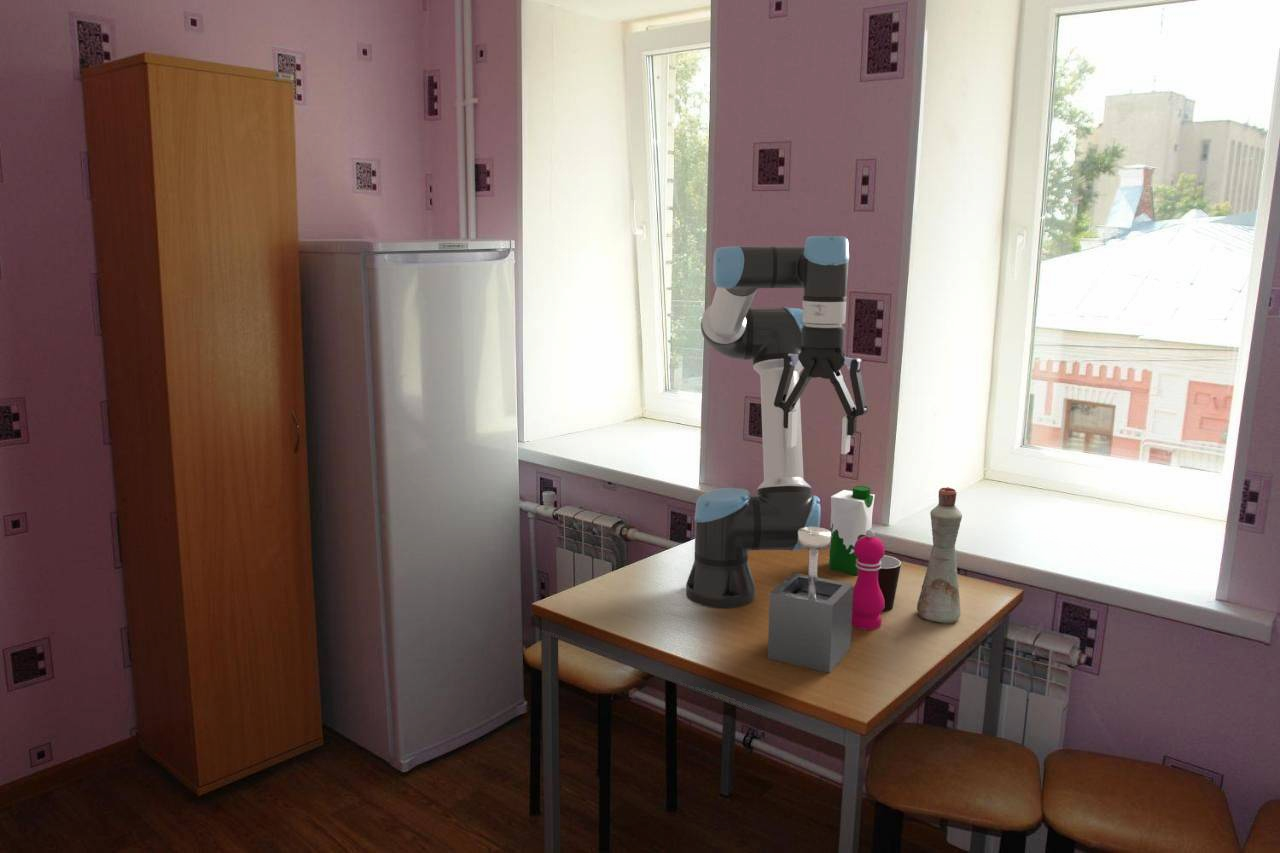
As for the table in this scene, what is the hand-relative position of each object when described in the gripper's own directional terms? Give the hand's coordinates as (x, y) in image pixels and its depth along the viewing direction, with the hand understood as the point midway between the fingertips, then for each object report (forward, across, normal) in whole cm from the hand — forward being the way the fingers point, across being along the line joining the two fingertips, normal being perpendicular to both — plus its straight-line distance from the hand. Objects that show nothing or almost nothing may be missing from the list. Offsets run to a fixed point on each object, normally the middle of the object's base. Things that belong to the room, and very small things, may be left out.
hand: (818, 449), depth 171 cm
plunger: (+30, 0, 0) cm, 30 cm away
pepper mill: (+40, +5, +19) cm, 44 cm away
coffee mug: (+40, +4, +31) cm, 51 cm away
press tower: (+40, 0, 0) cm, 40 cm away
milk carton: (+40, -8, +49) cm, 64 cm away
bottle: (+40, +17, +30) cm, 53 cm away
